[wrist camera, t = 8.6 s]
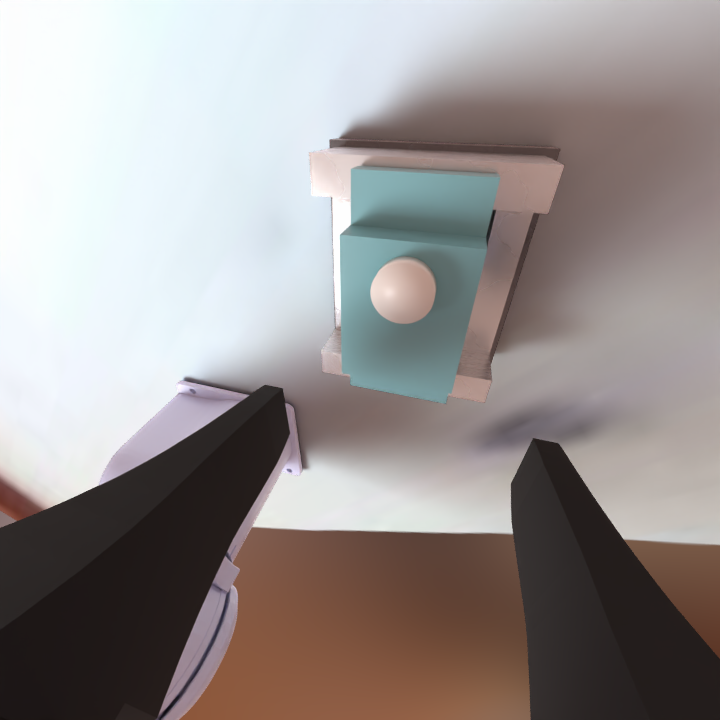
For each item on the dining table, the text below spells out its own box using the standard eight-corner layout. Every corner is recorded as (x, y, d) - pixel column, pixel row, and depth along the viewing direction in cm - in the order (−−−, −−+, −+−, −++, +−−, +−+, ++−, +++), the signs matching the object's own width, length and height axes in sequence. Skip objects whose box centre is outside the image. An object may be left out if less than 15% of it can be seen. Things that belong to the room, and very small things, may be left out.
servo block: (371, 337, 17) (337, 412, 13) (380, 156, 12) (330, 177, 8) (450, 350, 16) (442, 435, 12) (492, 161, 11) (505, 188, 7)
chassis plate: (341, 330, 19) (314, 373, 15) (337, 138, 13) (296, 144, 10) (489, 354, 17) (493, 408, 14) (554, 147, 12) (584, 157, 8)
